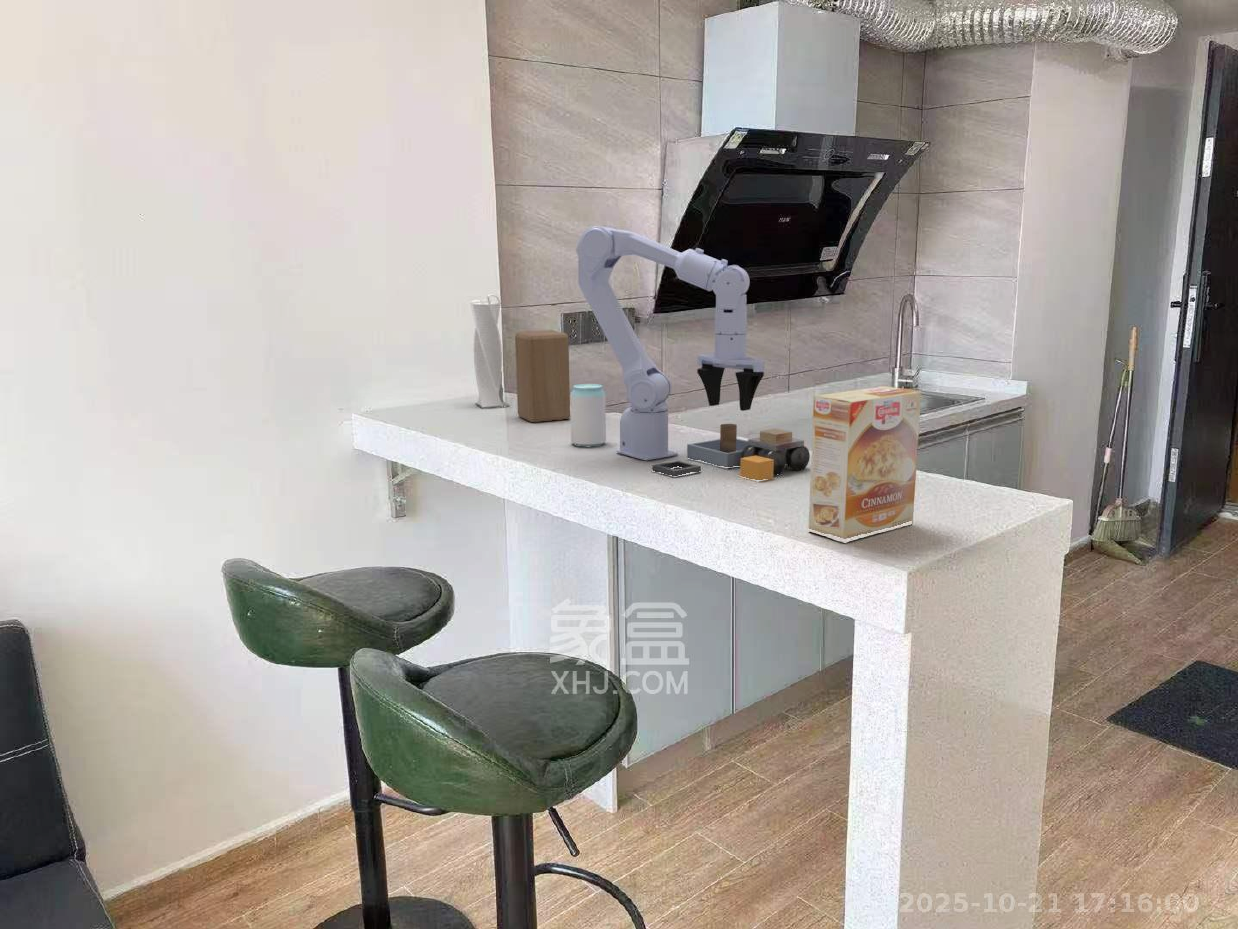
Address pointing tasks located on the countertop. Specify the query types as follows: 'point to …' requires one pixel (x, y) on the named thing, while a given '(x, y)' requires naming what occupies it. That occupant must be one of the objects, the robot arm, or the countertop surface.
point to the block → (542, 375)
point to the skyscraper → (488, 353)
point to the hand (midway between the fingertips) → (729, 407)
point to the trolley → (779, 449)
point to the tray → (716, 452)
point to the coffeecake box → (863, 460)
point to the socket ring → (667, 469)
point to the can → (588, 415)
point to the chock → (756, 467)
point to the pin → (728, 437)
